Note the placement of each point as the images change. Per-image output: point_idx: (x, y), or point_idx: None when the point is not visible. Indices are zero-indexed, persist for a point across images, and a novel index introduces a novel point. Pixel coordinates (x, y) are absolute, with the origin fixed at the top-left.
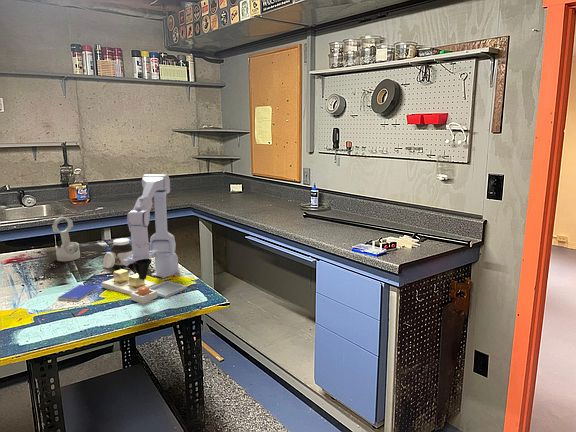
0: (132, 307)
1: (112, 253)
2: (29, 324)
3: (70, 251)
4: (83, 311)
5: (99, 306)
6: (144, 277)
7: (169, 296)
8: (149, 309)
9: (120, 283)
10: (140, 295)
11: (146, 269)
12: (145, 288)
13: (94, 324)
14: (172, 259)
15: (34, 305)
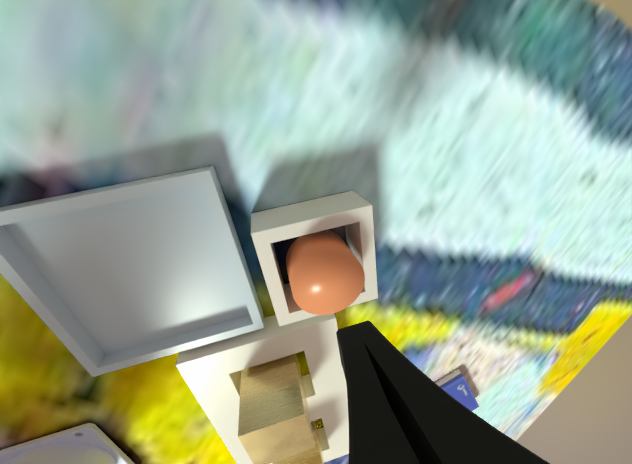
0: (401, 202)
1: None
2: (611, 297)
3: None
4: (507, 291)
5: (458, 297)
6: (366, 334)
7: (177, 173)
8: (367, 104)
9: (314, 424)
10: (364, 238)
11: (383, 429)
12: (321, 277)
13: (581, 158)
14: None
15: (520, 391)
